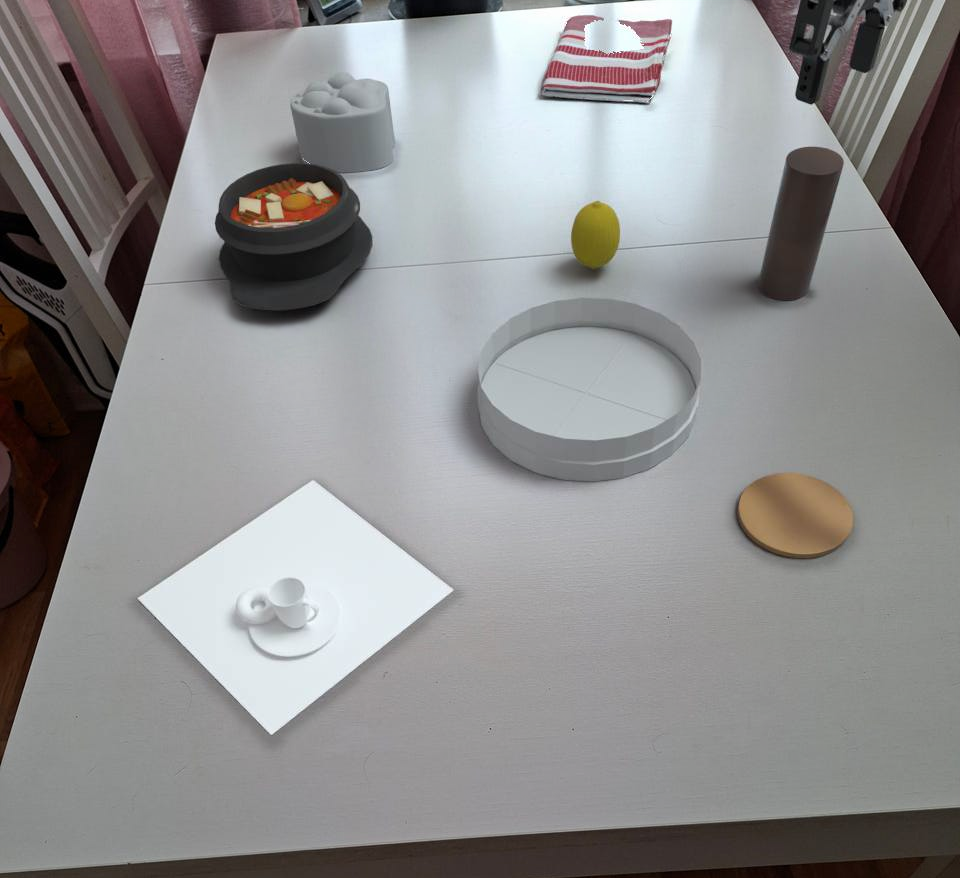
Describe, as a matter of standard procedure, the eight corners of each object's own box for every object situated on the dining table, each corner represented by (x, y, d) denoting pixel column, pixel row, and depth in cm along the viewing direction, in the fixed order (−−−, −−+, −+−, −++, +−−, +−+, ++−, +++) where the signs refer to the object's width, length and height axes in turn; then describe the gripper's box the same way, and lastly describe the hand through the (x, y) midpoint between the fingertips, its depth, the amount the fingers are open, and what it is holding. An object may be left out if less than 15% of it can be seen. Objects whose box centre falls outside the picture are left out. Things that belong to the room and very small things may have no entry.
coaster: (782, 461, 84) (783, 456, 84) (874, 516, 80) (876, 511, 79) (714, 516, 81) (715, 512, 80) (806, 576, 76) (808, 572, 76)
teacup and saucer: (226, 618, 77) (212, 588, 74) (299, 566, 80) (288, 535, 77) (287, 676, 73) (275, 648, 70) (361, 619, 76) (353, 590, 73)
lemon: (566, 280, 103) (568, 213, 97) (574, 253, 106) (577, 187, 100) (613, 284, 102) (618, 217, 96) (620, 257, 105) (626, 190, 99)
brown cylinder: (778, 265, 103) (808, 140, 91) (819, 285, 100) (855, 158, 89) (747, 286, 101) (774, 161, 89) (788, 307, 98) (821, 180, 87)
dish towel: (672, 35, 139) (674, 15, 137) (654, 105, 126) (656, 85, 124) (566, 31, 142) (566, 12, 140) (538, 99, 129) (538, 79, 127)
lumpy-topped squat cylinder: (391, 170, 120) (382, 101, 113) (296, 175, 120) (281, 107, 113) (396, 132, 126) (387, 65, 119) (305, 137, 126) (292, 70, 119)
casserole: (363, 322, 101) (351, 254, 94) (203, 327, 102) (179, 259, 95) (384, 204, 115) (374, 137, 108) (243, 209, 116) (225, 143, 109)
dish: (730, 373, 92) (739, 332, 88) (640, 511, 82) (645, 472, 78) (541, 316, 99) (541, 275, 95) (437, 436, 89) (432, 396, 85)
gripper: (880, -104, 66) (822, 125, 79) (983, -153, 71) (912, 71, 84) (795, -124, 69) (753, 99, 82) (899, -169, 74) (844, 48, 87)
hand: (833, 85), depth 83 cm, fingers open, 8 cm apart
